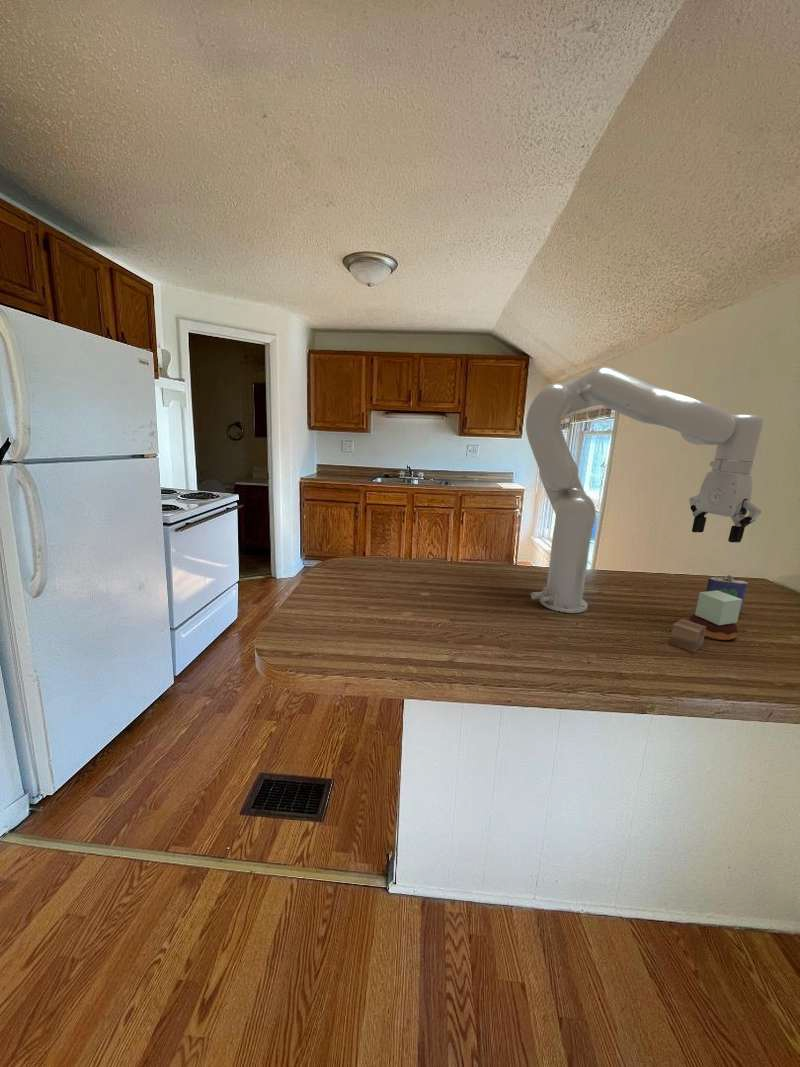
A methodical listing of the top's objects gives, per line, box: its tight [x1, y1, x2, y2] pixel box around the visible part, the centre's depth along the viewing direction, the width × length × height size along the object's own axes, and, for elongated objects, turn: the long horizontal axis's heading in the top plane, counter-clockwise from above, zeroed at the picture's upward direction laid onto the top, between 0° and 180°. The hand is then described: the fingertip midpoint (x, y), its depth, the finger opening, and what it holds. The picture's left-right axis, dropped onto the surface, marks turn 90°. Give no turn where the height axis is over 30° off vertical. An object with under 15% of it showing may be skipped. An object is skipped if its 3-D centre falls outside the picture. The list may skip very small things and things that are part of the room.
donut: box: [688, 613, 738, 641], centre depth 105 cm, size 10×10×4 cm
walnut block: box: [669, 618, 706, 653], centre depth 98 cm, size 5×5×5 cm
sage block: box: [694, 590, 742, 625], centre depth 104 cm, size 6×6×6 cm
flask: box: [705, 573, 749, 615], centre depth 118 cm, size 9×3×11 cm, turn 74°
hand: (714, 536), depth 107 cm, fingers open, 9 cm apart
